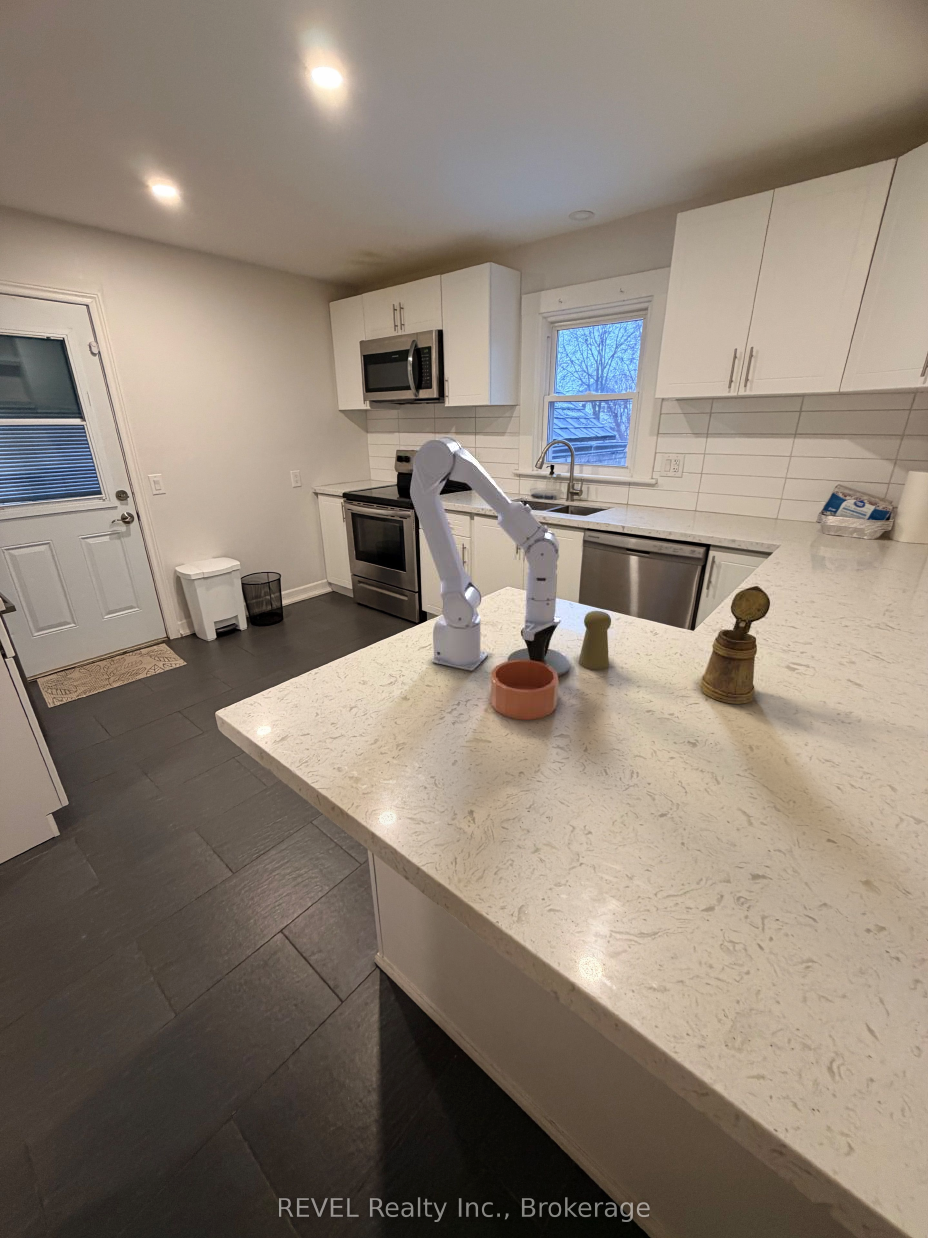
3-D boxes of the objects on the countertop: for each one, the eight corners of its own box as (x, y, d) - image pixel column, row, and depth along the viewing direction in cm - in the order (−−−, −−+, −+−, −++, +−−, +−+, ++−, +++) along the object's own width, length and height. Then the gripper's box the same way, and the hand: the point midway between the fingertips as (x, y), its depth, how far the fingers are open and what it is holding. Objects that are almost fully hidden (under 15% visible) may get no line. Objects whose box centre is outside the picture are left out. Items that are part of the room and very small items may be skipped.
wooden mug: (764, 679, 94) (786, 590, 87) (746, 710, 85) (769, 612, 78) (714, 665, 100) (731, 580, 93) (692, 693, 90) (709, 600, 83)
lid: (497, 673, 98) (498, 653, 97) (519, 647, 109) (520, 629, 107) (559, 686, 93) (560, 665, 92) (576, 658, 104) (578, 639, 102)
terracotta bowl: (480, 710, 86) (480, 683, 84) (505, 679, 96) (506, 655, 94) (544, 726, 81) (546, 698, 79) (564, 693, 91) (565, 667, 89)
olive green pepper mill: (609, 670, 98) (615, 619, 94) (578, 668, 100) (582, 617, 95) (607, 657, 104) (613, 608, 100) (578, 654, 105) (582, 606, 101)
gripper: (549, 611, 88) (546, 679, 93) (571, 587, 100) (567, 648, 105) (512, 606, 90) (511, 671, 96) (537, 583, 102) (535, 642, 108)
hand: (538, 658), depth 100 cm, fingers closed on lid, 2 cm apart
